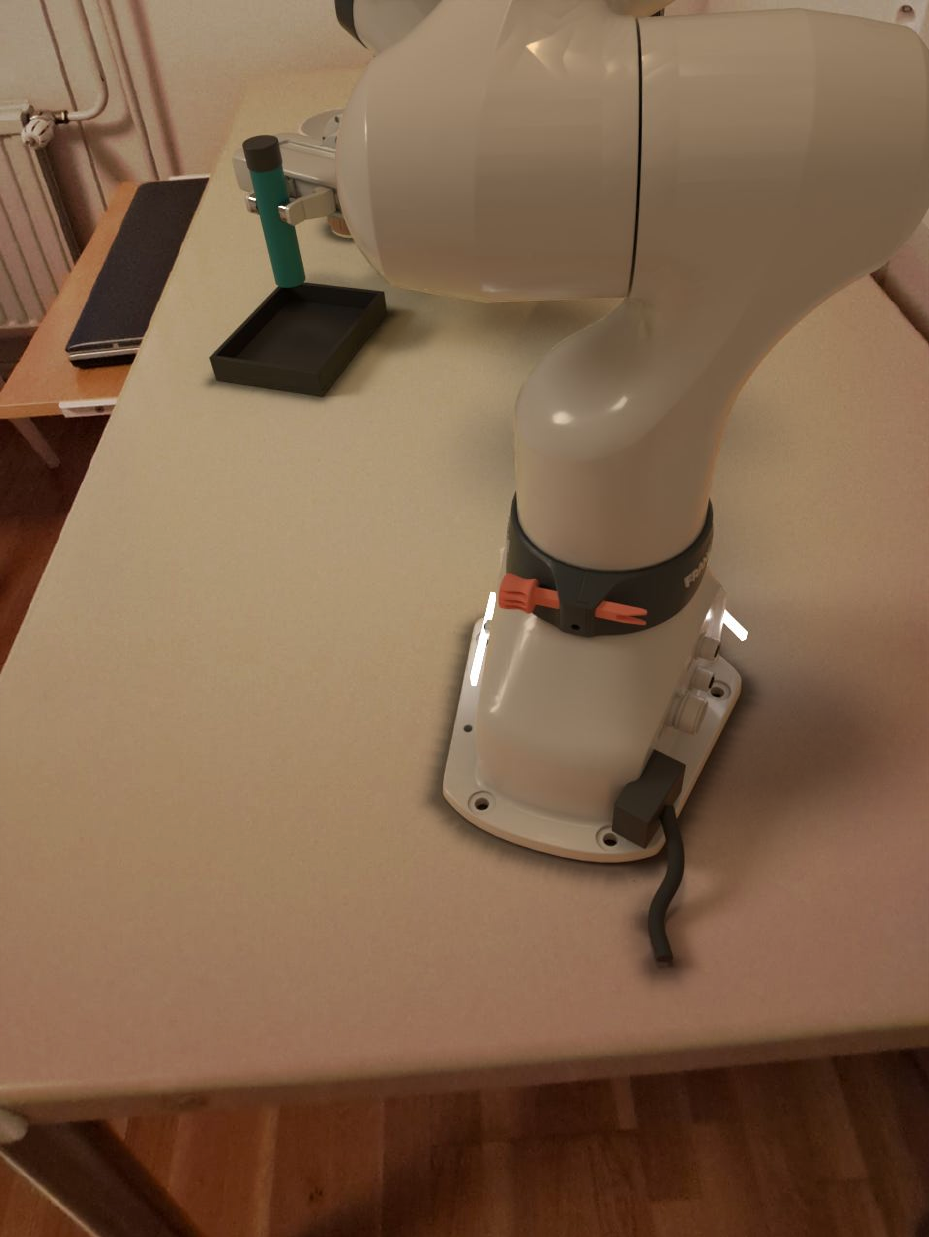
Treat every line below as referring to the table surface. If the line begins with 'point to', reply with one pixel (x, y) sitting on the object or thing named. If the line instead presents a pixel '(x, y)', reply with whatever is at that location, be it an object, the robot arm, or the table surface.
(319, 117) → the coffee cup
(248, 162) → the marker
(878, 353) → the table surface
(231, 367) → the tray
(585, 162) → the robot arm
